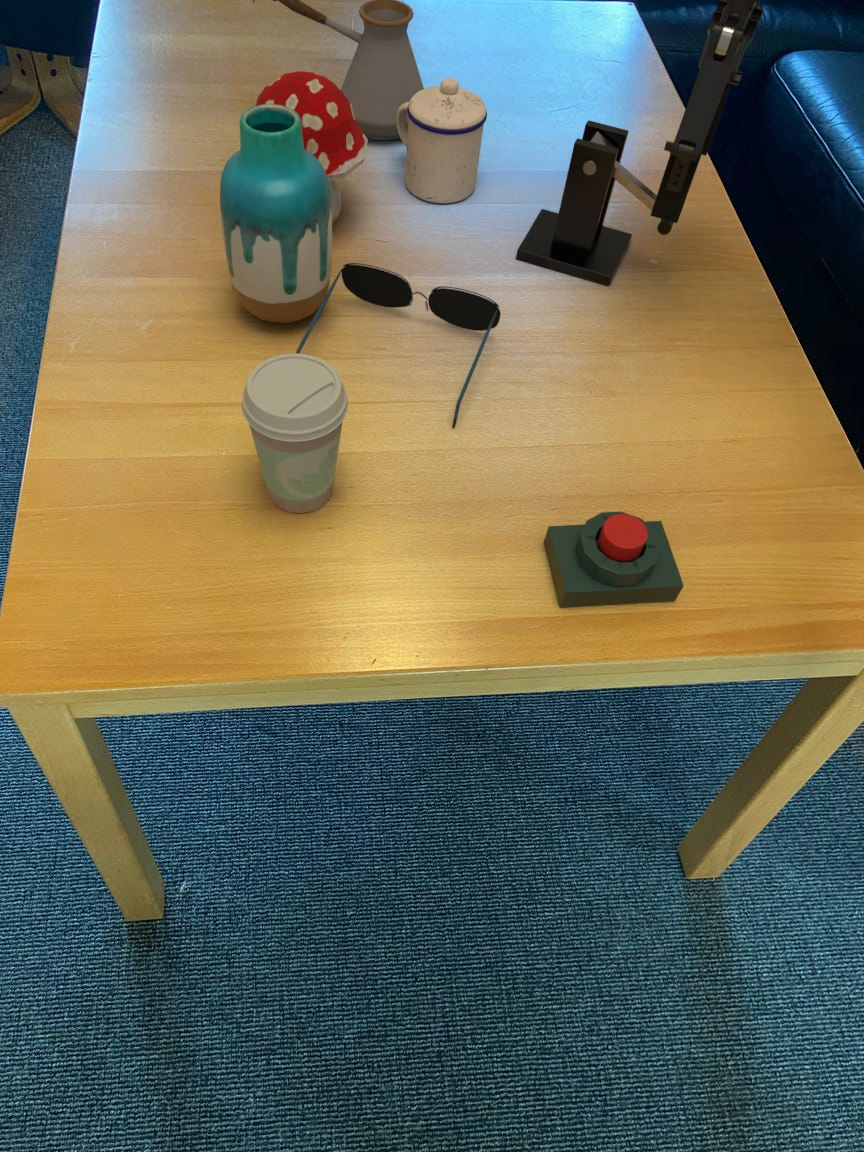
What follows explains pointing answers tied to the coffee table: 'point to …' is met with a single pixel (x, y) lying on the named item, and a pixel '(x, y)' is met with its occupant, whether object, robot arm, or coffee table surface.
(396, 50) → the coffee pot
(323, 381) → the coffee cup
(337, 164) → the decorative mushroom
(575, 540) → the button housing
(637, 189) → the lever
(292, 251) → the vase
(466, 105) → the teacup with lid
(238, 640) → the coffee table surface
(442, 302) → the sunglasses
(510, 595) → the coffee table surface
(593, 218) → the black lever stand
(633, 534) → the button
